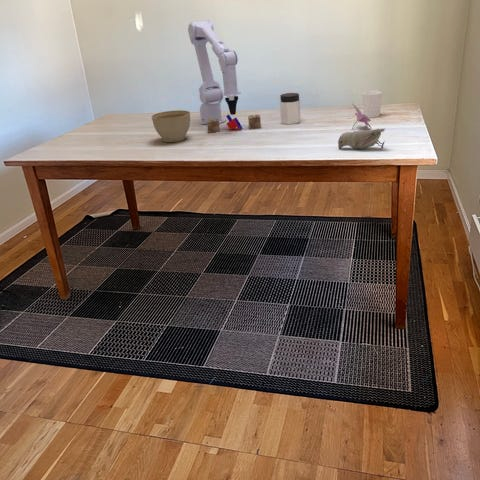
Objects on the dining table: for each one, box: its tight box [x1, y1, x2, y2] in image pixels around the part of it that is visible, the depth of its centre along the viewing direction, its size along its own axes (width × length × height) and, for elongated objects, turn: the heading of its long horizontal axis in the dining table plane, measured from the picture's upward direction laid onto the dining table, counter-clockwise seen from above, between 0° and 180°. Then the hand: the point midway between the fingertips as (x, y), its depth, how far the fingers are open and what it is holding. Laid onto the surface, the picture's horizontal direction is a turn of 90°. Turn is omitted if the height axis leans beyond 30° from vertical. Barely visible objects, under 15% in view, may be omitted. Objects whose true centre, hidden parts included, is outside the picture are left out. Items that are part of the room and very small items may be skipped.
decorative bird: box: [337, 127, 386, 150], centre depth 174 cm, size 5×16×8 cm, turn 71°
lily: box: [351, 103, 373, 130], centre depth 199 cm, size 12×12×10 cm
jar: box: [279, 92, 301, 125], centre depth 219 cm, size 9×8×12 cm
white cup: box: [362, 90, 383, 119], centre depth 216 cm, size 8×8×10 cm
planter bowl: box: [150, 109, 191, 143], centre depth 209 cm, size 16×16×11 cm
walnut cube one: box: [247, 114, 262, 130], centre depth 217 cm, size 5×5×5 cm
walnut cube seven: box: [206, 119, 221, 134], centre depth 218 cm, size 5×5×5 cm
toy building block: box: [225, 114, 243, 131], centre depth 217 cm, size 4×4×8 cm
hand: (233, 114), depth 216 cm, fingers closed
